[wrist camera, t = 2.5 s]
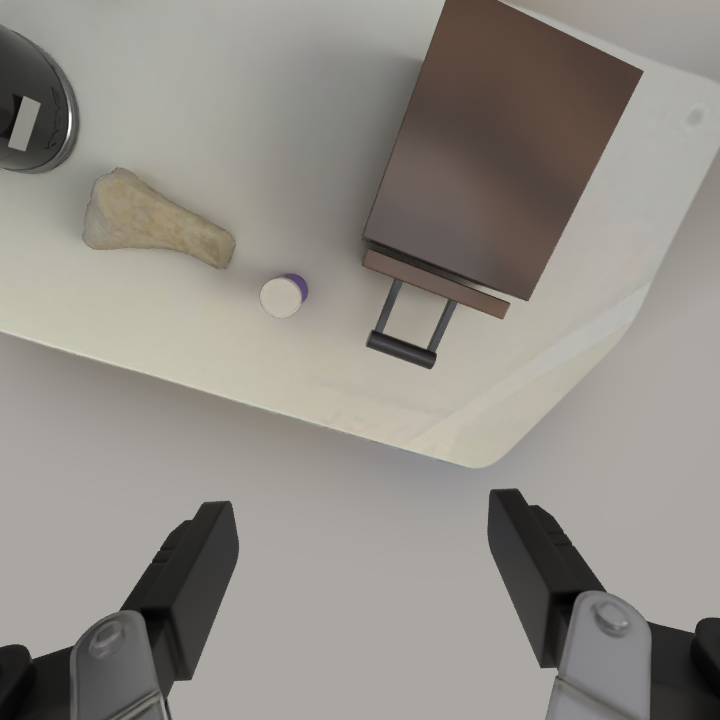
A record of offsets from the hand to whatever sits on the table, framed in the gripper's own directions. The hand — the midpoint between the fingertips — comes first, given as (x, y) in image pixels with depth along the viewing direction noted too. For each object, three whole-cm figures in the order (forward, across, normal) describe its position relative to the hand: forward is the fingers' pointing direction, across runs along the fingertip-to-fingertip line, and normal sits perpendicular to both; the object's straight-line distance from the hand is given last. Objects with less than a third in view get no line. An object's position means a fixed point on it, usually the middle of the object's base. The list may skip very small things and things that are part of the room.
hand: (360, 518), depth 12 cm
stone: (+24, +15, -10) cm, 30 cm away
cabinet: (+24, -9, -12) cm, 28 cm away
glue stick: (+24, +6, -5) cm, 25 cm away
